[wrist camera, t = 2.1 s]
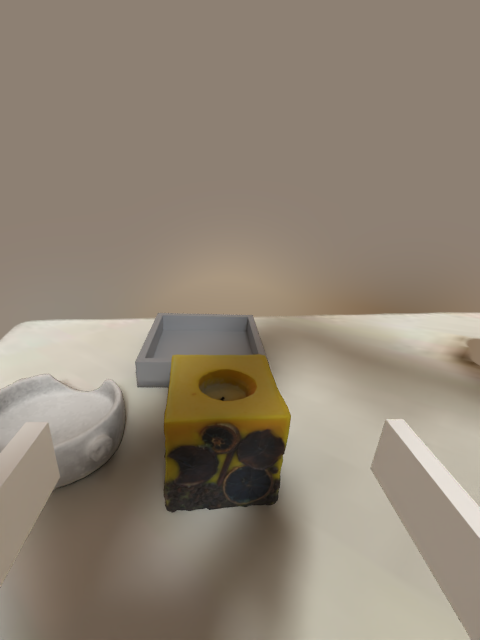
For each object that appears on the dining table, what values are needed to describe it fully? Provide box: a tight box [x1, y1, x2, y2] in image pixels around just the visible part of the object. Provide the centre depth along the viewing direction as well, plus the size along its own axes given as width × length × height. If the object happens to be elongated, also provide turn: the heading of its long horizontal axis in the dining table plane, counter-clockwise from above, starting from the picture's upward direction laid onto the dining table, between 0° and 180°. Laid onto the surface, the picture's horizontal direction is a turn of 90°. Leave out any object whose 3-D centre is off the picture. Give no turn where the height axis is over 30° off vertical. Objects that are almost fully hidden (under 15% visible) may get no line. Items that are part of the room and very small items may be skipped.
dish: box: [0, 374, 125, 489], centre depth 31 cm, size 14×14×5 cm
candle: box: [164, 354, 291, 512], centre depth 29 cm, size 10×10×10 cm
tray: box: [135, 313, 268, 387], centre depth 50 cm, size 18×18×4 cm
